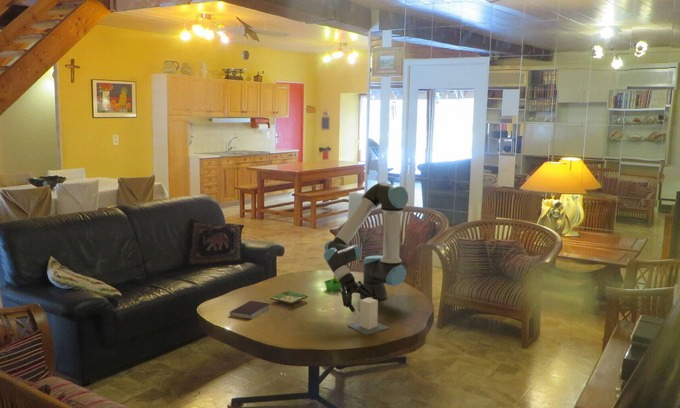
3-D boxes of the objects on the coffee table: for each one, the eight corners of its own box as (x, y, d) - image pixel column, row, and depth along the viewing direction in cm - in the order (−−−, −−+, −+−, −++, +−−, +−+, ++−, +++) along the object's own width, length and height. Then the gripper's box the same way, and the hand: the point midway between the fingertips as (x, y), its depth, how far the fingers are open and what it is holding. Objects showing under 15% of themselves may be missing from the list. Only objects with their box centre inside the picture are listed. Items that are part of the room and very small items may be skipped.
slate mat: (370, 320, 293) (370, 319, 293) (389, 328, 282) (389, 327, 282) (347, 326, 285) (347, 325, 285) (366, 335, 274) (366, 333, 274)
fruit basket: (337, 285, 350) (337, 267, 349) (348, 289, 344) (348, 270, 343) (323, 289, 342) (323, 270, 341) (334, 293, 336) (334, 274, 334)
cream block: (367, 323, 288) (368, 297, 285) (377, 326, 283) (377, 300, 281) (359, 326, 283) (360, 300, 281) (369, 329, 279) (369, 303, 277)
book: (229, 316, 297) (229, 310, 297) (250, 305, 315) (250, 299, 314) (250, 320, 292) (250, 314, 292) (270, 308, 310) (270, 303, 309)
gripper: (356, 275, 301) (379, 310, 294) (323, 286, 283) (346, 323, 276) (365, 267, 297) (388, 303, 290) (331, 277, 279) (354, 315, 271)
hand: (367, 313), depth 283 cm, fingers open, 13 cm apart
